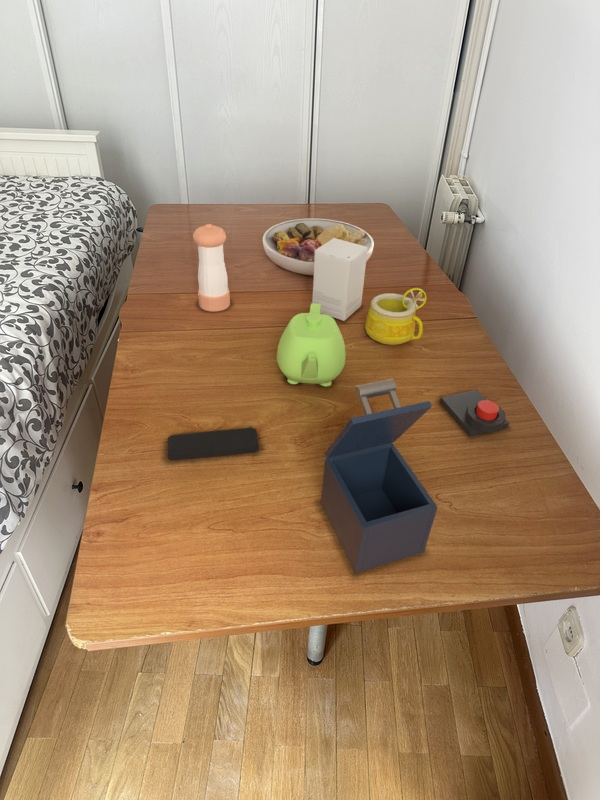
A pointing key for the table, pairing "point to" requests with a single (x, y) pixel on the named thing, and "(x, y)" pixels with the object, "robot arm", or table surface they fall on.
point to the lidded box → (376, 506)
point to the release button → (487, 410)
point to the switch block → (472, 413)
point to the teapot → (311, 349)
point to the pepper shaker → (212, 268)
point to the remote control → (212, 443)
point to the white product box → (339, 277)
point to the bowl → (308, 241)
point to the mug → (394, 318)
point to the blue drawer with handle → (376, 421)
